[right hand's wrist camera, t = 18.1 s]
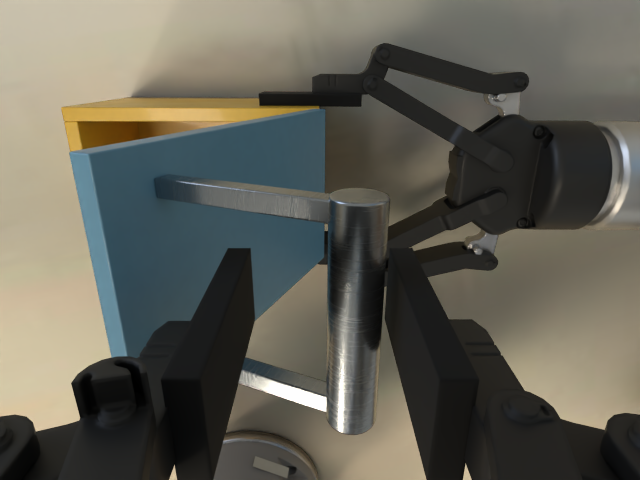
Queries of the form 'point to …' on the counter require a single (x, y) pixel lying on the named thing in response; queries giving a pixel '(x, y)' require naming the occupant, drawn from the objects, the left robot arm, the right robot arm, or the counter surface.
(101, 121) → the chest
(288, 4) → the counter surface
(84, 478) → the right robot arm
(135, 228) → the lid
